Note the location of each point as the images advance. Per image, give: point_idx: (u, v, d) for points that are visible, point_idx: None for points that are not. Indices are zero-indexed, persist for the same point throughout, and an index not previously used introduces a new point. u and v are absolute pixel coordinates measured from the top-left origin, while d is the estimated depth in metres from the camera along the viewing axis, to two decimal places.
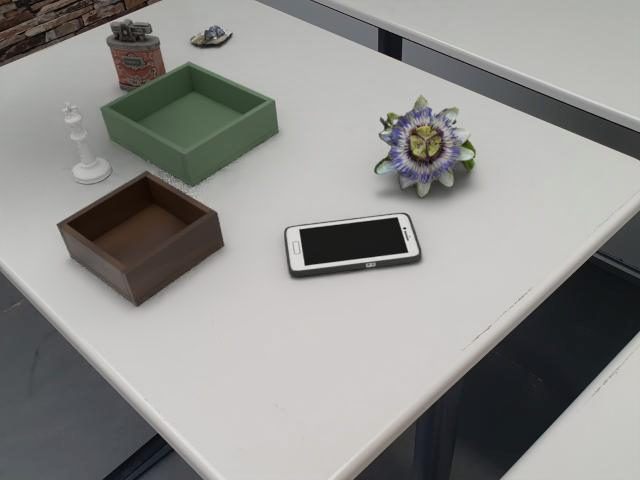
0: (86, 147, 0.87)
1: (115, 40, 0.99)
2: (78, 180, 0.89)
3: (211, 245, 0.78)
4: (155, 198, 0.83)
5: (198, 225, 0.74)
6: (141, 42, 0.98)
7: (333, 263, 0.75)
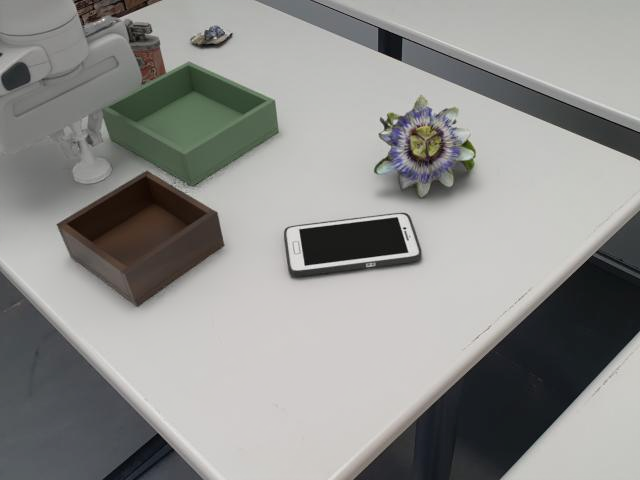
0: (86, 147, 0.87)
1: None
2: (78, 180, 0.89)
3: (211, 245, 0.78)
4: (155, 198, 0.83)
5: (198, 225, 0.74)
6: (141, 42, 0.98)
7: (333, 263, 0.75)
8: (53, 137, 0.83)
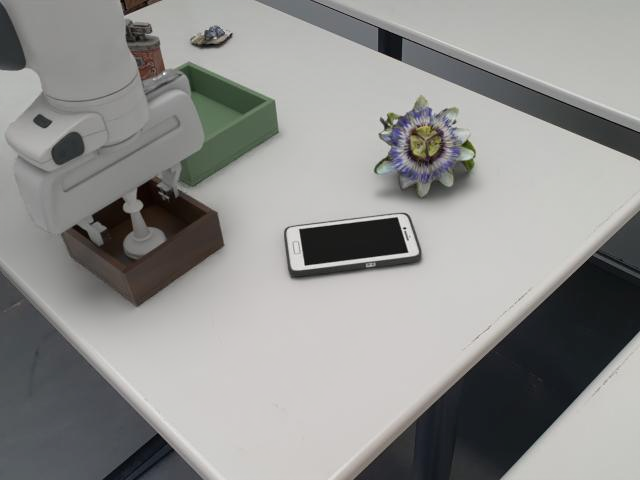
0: (140, 219, 0.76)
1: None
2: (130, 255, 0.77)
3: (211, 245, 0.78)
4: (155, 198, 0.83)
5: (198, 225, 0.74)
6: (141, 42, 0.98)
7: (333, 263, 0.75)
8: (80, 224, 0.70)
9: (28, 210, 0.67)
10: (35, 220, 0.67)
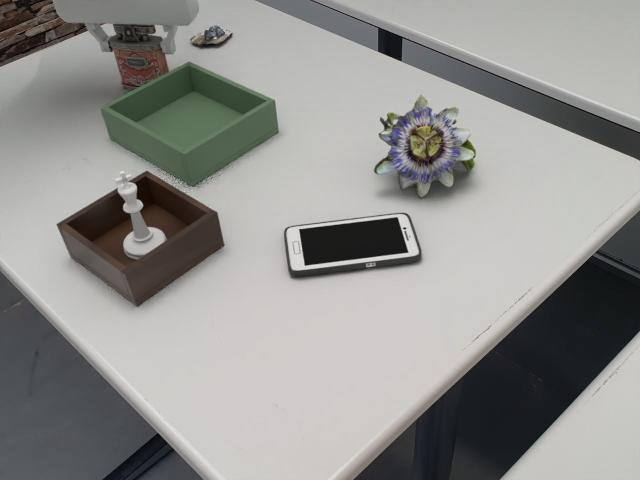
0: (140, 219, 0.76)
1: (118, 40, 0.99)
2: (130, 255, 0.77)
3: (211, 245, 0.78)
4: (155, 198, 0.83)
5: (198, 225, 0.74)
6: (144, 42, 0.98)
7: (333, 263, 0.75)
8: None
9: None
10: None
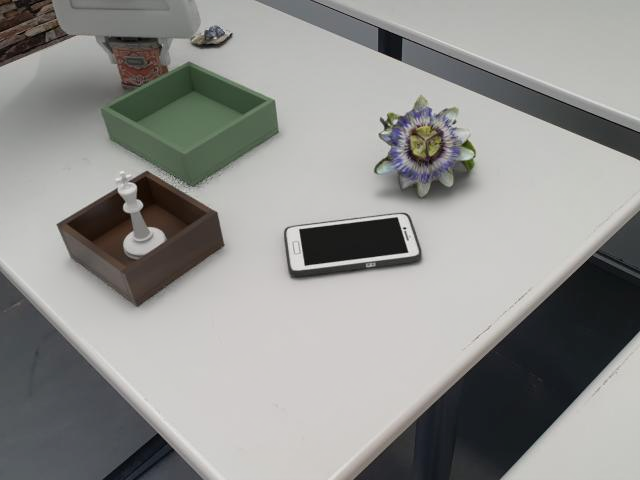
0: (140, 219, 0.76)
1: (117, 40, 0.99)
2: (130, 255, 0.77)
3: (211, 245, 0.78)
4: (155, 198, 0.83)
5: (198, 225, 0.74)
6: (143, 41, 0.98)
7: (333, 263, 0.75)
8: None
9: None
10: None
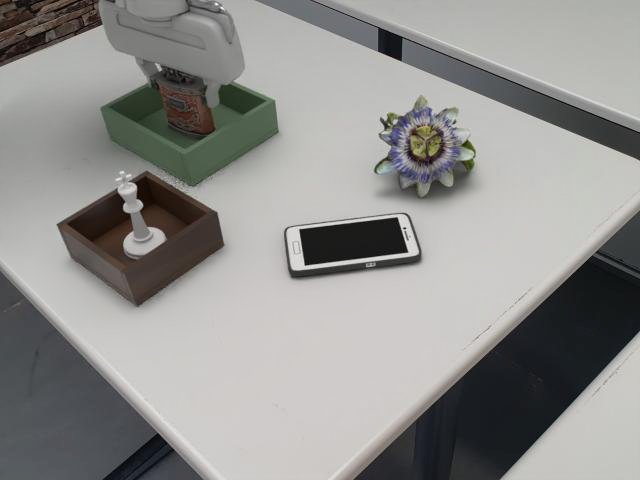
0: (140, 219, 0.76)
1: (163, 77, 0.89)
2: (130, 255, 0.77)
3: (211, 245, 0.78)
4: (155, 198, 0.83)
5: (198, 225, 0.74)
6: (186, 84, 0.87)
7: (333, 263, 0.75)
8: None
9: None
10: None
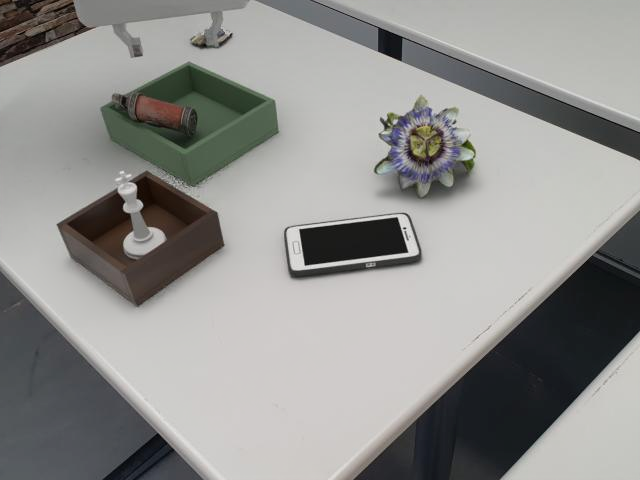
0: (140, 219, 0.76)
1: None
2: (130, 255, 0.77)
3: (211, 245, 0.78)
4: (155, 198, 0.83)
5: (198, 225, 0.74)
6: None
7: (333, 263, 0.75)
8: (113, 29, 0.82)
9: None
10: None
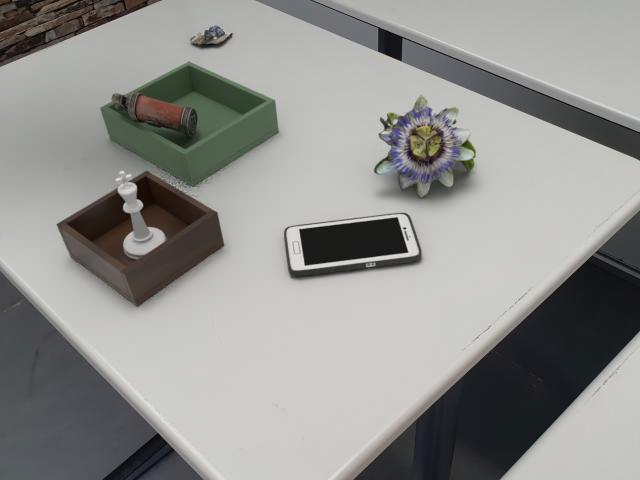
0: (140, 219, 0.76)
1: None
2: (130, 255, 0.77)
3: (211, 245, 0.78)
4: (155, 198, 0.83)
5: (198, 225, 0.74)
6: None
7: (333, 263, 0.75)
8: None
9: None
10: None
